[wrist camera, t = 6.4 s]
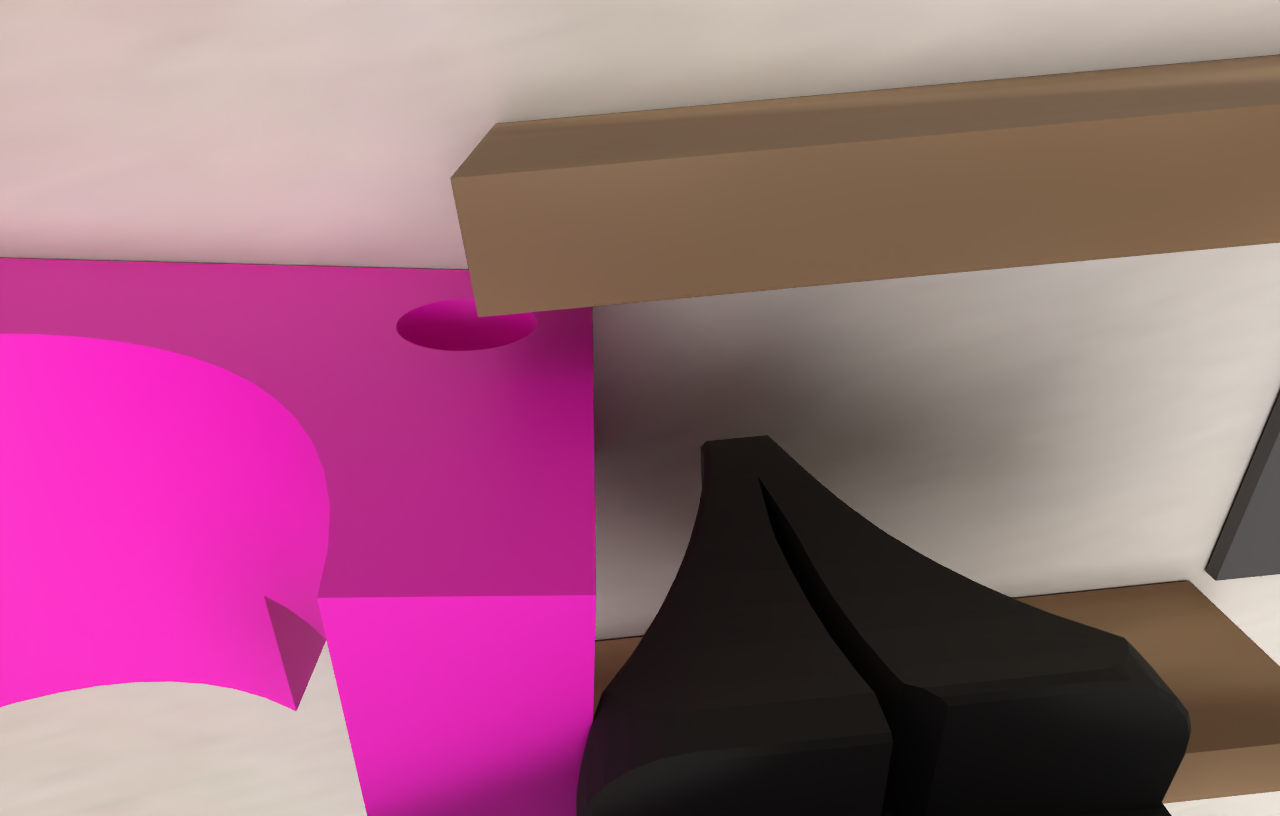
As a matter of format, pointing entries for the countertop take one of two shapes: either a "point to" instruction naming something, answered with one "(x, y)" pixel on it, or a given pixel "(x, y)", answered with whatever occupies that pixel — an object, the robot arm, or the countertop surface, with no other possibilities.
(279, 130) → the countertop surface
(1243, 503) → the pit pad
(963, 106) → the channel
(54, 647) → the toy block
